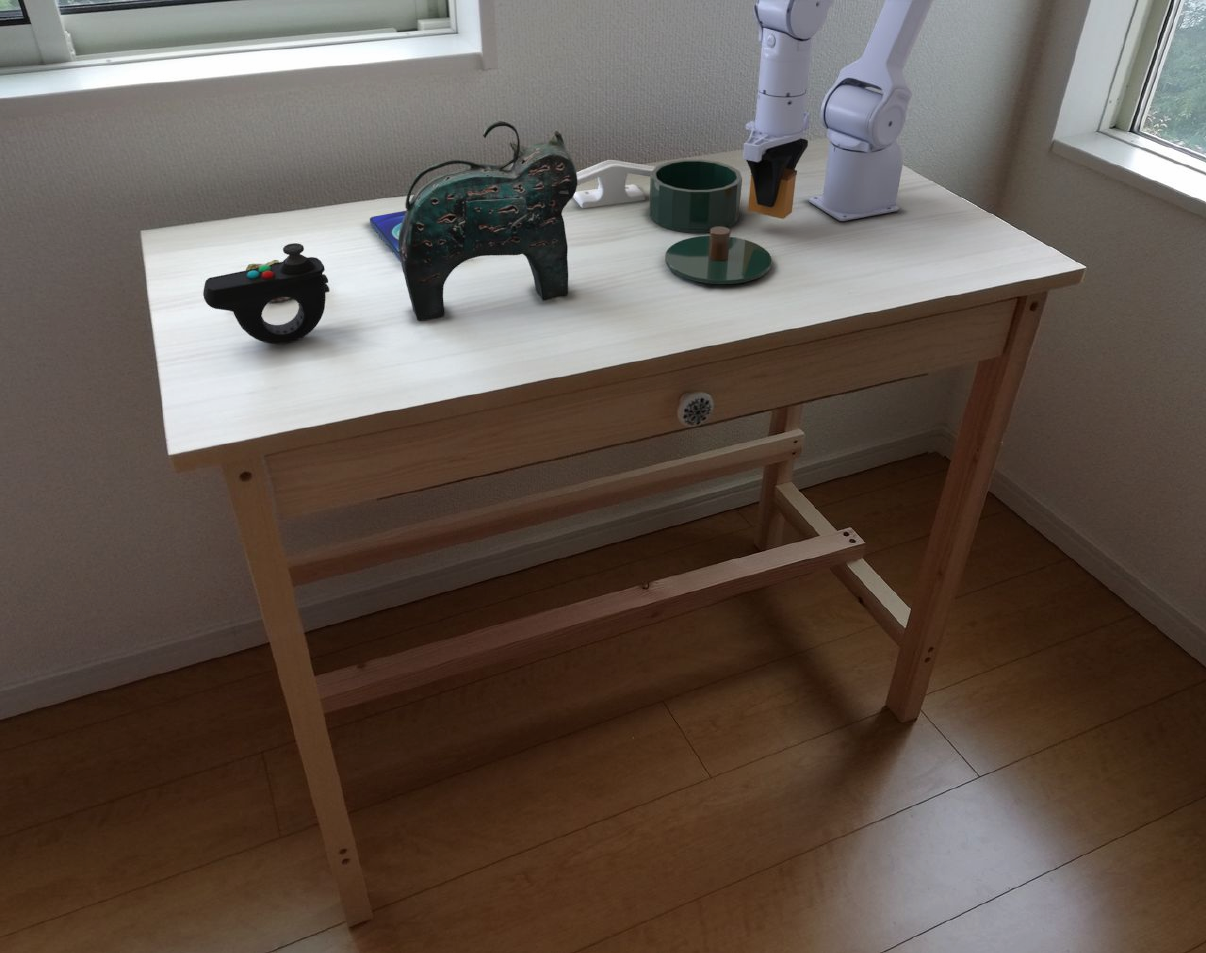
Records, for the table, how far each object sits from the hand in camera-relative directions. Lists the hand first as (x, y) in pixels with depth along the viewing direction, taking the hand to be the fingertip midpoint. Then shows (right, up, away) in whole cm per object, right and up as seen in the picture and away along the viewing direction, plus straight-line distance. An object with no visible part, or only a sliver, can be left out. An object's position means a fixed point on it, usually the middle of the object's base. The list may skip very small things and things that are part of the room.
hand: (771, 200), depth 127 cm
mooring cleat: (-20, +3, +12) cm, 24 cm away
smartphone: (-45, -5, +1) cm, 46 cm away
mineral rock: (-60, -13, -10) cm, 62 cm away
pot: (-9, 0, +7) cm, 12 cm away
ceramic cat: (-33, -16, -13) cm, 39 cm away
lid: (-7, -9, -6) cm, 13 cm away
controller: (-56, -21, -20) cm, 63 cm away
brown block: (0, -1, +1) cm, 1 cm away
